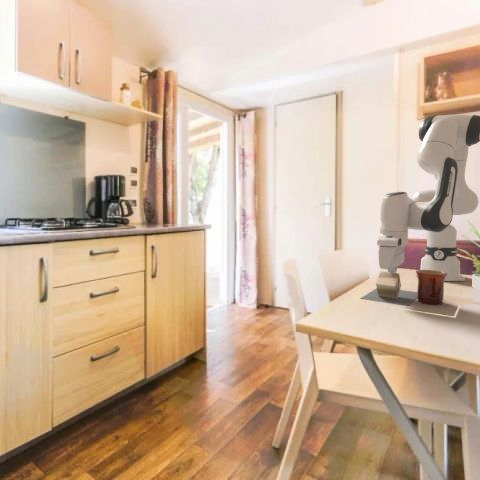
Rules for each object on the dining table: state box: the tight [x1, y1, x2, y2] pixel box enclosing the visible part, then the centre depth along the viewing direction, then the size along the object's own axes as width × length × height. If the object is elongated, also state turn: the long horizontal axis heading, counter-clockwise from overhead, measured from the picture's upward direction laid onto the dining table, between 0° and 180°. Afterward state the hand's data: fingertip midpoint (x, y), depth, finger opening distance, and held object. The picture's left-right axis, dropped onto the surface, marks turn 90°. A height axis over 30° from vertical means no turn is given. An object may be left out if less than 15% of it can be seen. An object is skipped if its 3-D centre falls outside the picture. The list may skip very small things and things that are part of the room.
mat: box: [359, 287, 418, 307], centre depth 119 cm, size 22×15×1 cm
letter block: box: [375, 271, 402, 299], centre depth 116 cm, size 6×6×6 cm
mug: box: [415, 269, 447, 306], centre depth 108 cm, size 12×9×10 cm
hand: (392, 278), depth 119 cm, fingers closed
